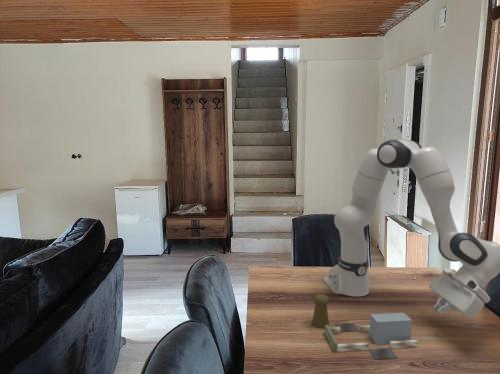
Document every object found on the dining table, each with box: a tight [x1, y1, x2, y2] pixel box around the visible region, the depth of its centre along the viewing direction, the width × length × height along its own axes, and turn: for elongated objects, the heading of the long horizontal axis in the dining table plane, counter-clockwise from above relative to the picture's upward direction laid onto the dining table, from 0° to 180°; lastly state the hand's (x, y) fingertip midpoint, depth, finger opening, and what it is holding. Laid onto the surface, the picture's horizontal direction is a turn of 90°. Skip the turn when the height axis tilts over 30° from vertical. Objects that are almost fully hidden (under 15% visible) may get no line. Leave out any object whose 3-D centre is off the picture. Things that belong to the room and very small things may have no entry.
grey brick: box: [369, 312, 413, 345], centre depth 122 cm, size 12×5×8 cm, turn 95°
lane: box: [324, 322, 419, 360], centre depth 122 cm, size 28×21×3 cm
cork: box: [311, 293, 330, 329], centre depth 132 cm, size 6×6×11 cm
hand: (437, 311), depth 123 cm, fingers closed
